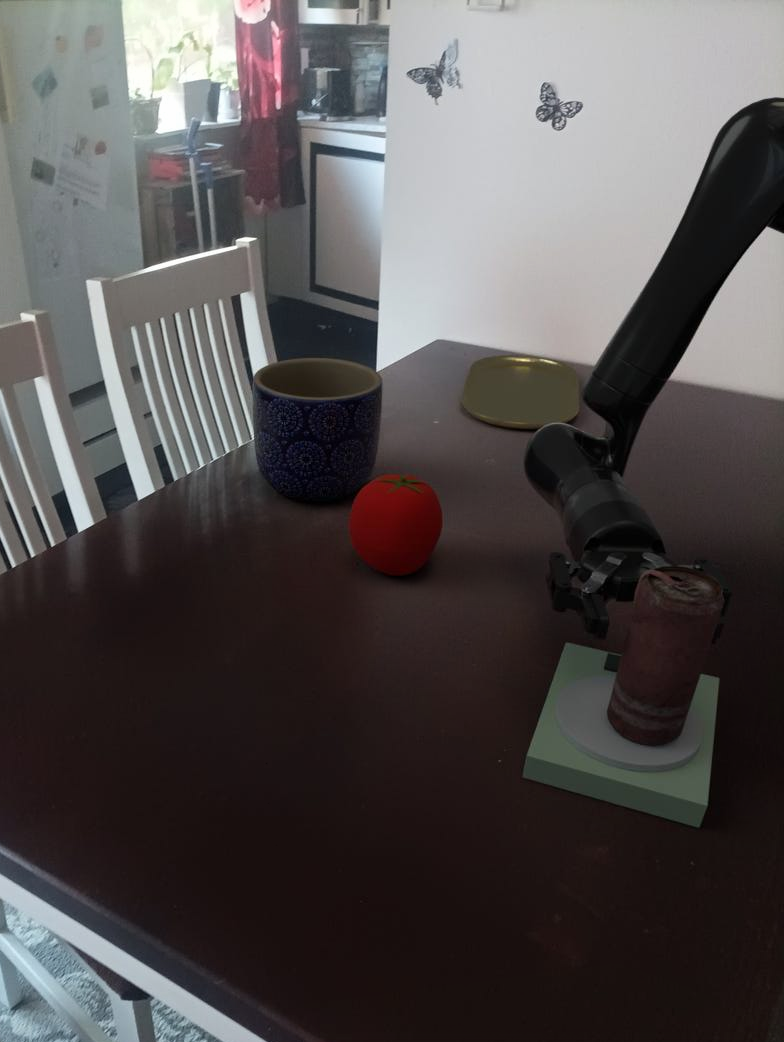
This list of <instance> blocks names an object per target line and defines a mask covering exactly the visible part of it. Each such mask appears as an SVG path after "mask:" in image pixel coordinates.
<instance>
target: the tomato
mask: <svg viewBox="0 0 784 1042" xmlns="http://www.w3.org/2000/svg"><path fill="white" fill-rule="evenodd" d="M431 481H433V480H424V479H423V480H422V479H420V478H418V477H416V476H414V475H408V474H402V473H399V474H395V473H394V474H393V473H392V474H384V475H382V476H379V477H377V478H374V479H373V480H372V481H370V482H368V483H367V484H365V485H363V486H362V487H361V488H360V490H359V492H358V493H357V495H356V496H355V497H354V500H353V503H352V505H351V508H350V510H351V511H350V514H349V523H348V524H349V525H348V528H349V529H348V530H349V536H350V541H351V544H352V547H353V549H354V551H355V553H356V554H357V556H358V557H359V559H361V560H362V561H363V562H365V563H366V564H367V565H368V566H369V567H371V568H372V569H374V570H375V571H377V572H379V573H382V574H385V575H389V576H398V577H400V576H401V577H402V576H406V575H410V574H412V573H414V572H416V571H418V570H419V569H420V568H422V567H423V566H424V565H425V563H426V562H427V561H428V560H429V559H430V557H431V556H432V554H433V553H434V551H435V549H436V547H437V544H438V541H439V539H440V538H441V534H442V529H443V510H442V505H441V502H440V499H439V497H438V496H437V494H436V492H435V490H434V489H433V487H432V486H431V485H429V483H427V482H431Z"/></svg>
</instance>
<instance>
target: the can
mask: <svg viewBox="0 0 784 1042" xmlns="http://www.w3.org/2000/svg"><path fill="white" fill-rule="evenodd" d="M722 591H723V589H722V587H721V584H720V583H719V582H718V581H717V580H716V579H715V578H713V577H711V576H710V575H708V574H706V573H704V572H701V571H699V570H696V569H692V568H688V567H682V566H662V567H658V568H655V569H653V570H652V569H650V570H647V571H645V572H644V573H643V574H642V575H641V576H640V579H639V582H638V585H637V588H636V591H635V596H634V601H633V603H632V604H633V605H632V614H631V617H630V620H629V621H630V622H629V625H628V629H627V633H626V636H625V641H624V645H623V647H622V652H621V654H620V655H621V659H620V663H619V667H618V671H617V674H616V678H615V682H614V686H613V690H612V694H611V697H610V701H609V705H608V709H607V716H608V720H609V722H610V724H611V726H612V727H613V729H614V730H615V731H616V732H617V733H618V734H619V735H621V736H622V737H623V738H625V739H627V740H629V741H631V742H634V743H637V744H640V745H647V746H661V745H665V744H668V743H670V742H672V741H674V740H675V739H676V738H678V737H679V736H680V735H681V733H682V730H683V727H684V724H685V721H686V718H687V715H688V712H689V709H690V706H691V702H692V699H693V696H694V693H695V690H696V687H697V684H698V681H699V678H700V675H701V674H702V672H703V668H704V665H705V663H706V659H707V656H708V654H709V650H710V647H711V645H712V644H711V641H712V638H713V635H714V632H715V629H716V626H717V623H718V620H719V617H720V614H721V611H722V608H723V604H724V598H723V594H722Z"/></svg>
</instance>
